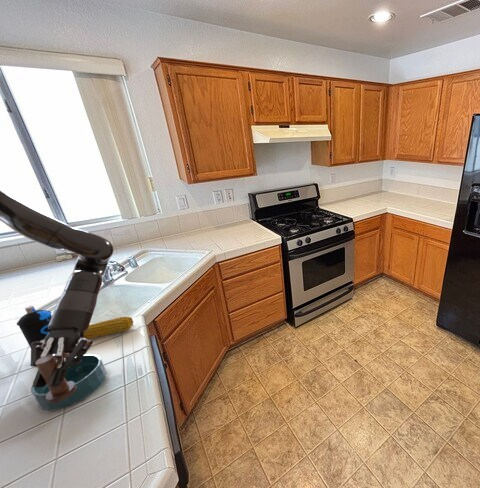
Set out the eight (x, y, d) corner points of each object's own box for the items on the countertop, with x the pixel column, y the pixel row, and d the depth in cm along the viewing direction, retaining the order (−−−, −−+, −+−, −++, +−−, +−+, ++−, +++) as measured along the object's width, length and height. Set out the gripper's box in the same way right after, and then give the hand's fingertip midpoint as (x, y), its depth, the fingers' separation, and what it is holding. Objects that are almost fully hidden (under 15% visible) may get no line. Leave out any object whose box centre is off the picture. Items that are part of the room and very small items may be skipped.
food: (136, 324, 109) (131, 312, 107) (131, 332, 104) (126, 319, 102) (74, 337, 103) (68, 325, 101) (66, 347, 97) (59, 333, 95)
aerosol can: (31, 367, 89) (4, 317, 82) (44, 351, 96) (20, 304, 89) (62, 358, 92) (38, 309, 85) (72, 344, 99) (51, 298, 92)
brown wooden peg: (43, 407, 60) (23, 371, 57) (52, 390, 64) (34, 356, 61) (72, 396, 62) (55, 361, 59) (79, 381, 67) (63, 348, 63)
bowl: (29, 422, 69) (19, 405, 67) (51, 381, 82) (44, 366, 80) (101, 395, 76) (94, 379, 74) (111, 362, 89) (105, 347, 87)
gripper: (32, 309, 64) (-3, 389, 57) (89, 306, 64) (60, 386, 56) (61, 314, 71) (33, 387, 63) (112, 312, 71) (90, 384, 63)
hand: (46, 386), depth 60 cm, fingers closed on brown wooden peg, 3 cm apart
